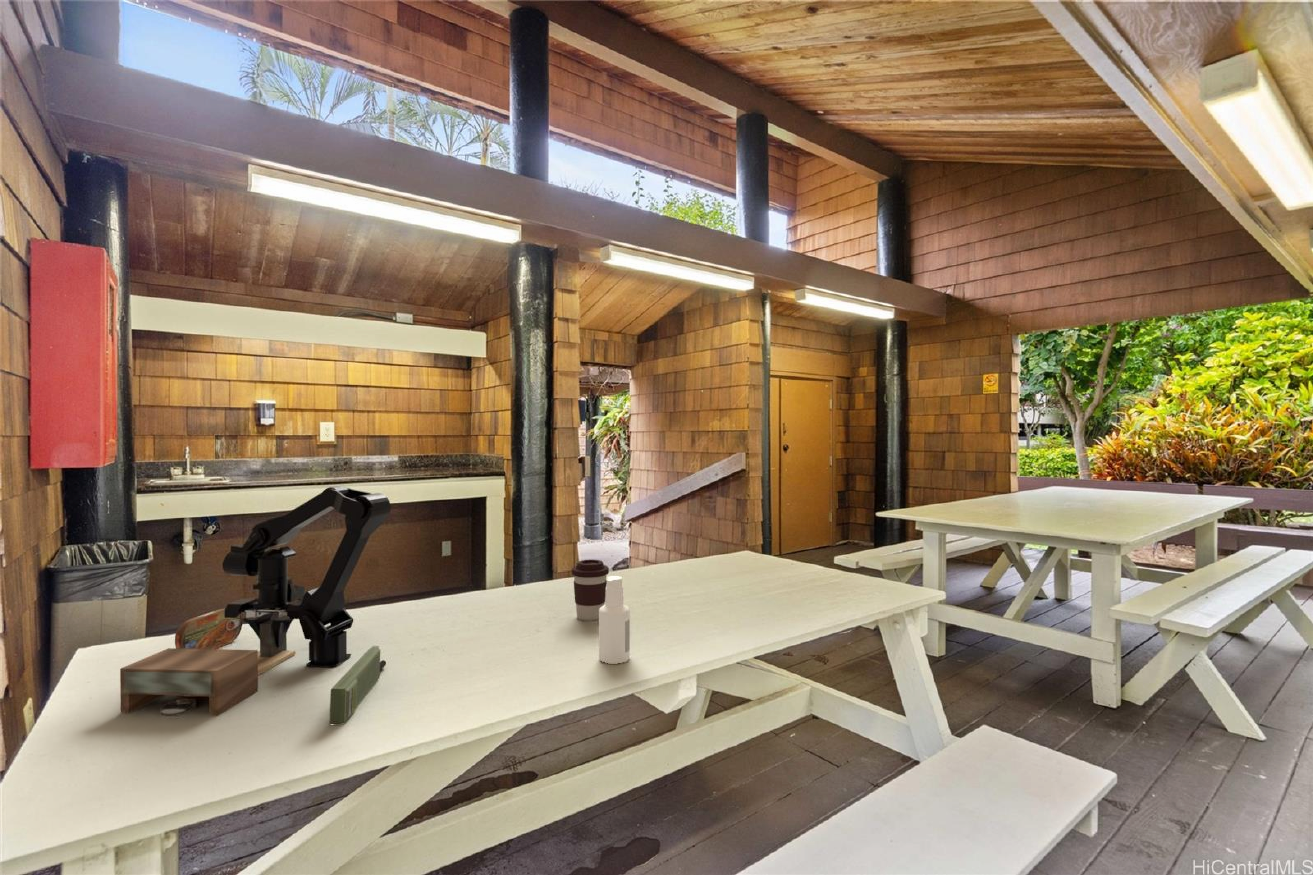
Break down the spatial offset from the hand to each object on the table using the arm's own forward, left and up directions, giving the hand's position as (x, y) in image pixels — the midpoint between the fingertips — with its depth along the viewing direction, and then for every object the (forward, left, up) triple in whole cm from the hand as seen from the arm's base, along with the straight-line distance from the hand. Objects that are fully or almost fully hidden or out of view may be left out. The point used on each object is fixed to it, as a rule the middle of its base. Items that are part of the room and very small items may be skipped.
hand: (273, 646), depth 134 cm
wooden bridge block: (0, +22, -2) cm, 22 cm away
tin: (+18, -4, -3) cm, 19 cm away
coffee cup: (-66, -32, -2) cm, 73 cm away
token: (0, +25, -3) cm, 25 cm away
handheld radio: (-30, +17, -3) cm, 34 cm away
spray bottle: (-76, -3, -2) cm, 76 cm away
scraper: (0, +9, -2) cm, 9 cm away
